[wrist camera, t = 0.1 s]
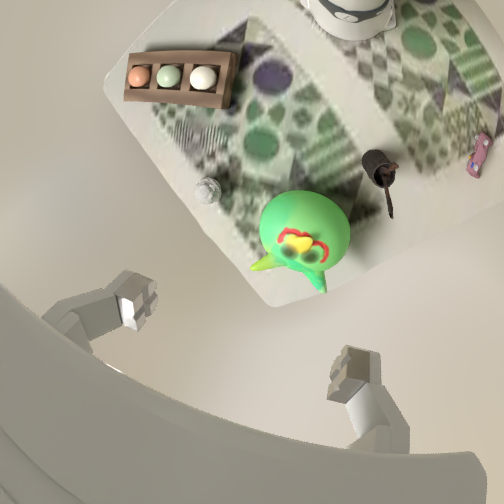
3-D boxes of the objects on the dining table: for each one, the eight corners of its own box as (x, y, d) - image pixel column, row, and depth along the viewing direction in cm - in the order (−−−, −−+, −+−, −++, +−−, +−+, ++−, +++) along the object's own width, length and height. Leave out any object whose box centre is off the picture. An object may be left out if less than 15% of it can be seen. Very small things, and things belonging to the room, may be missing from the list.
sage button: (165, 66, 45) (158, 65, 43) (184, 66, 45) (177, 65, 43) (161, 86, 48) (155, 86, 46) (180, 87, 47) (174, 87, 45)
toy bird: (360, 201, 53) (367, 231, 41) (331, 264, 63) (327, 305, 51) (279, 171, 55) (262, 192, 43) (259, 237, 65) (239, 272, 52)
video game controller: (476, 130, 38) (479, 126, 33) (493, 142, 36) (497, 139, 31) (461, 169, 43) (462, 169, 38) (477, 180, 41) (480, 181, 36)
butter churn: (385, 126, 44) (434, 147, 21) (406, 169, 47) (460, 226, 24) (346, 146, 48) (358, 183, 25) (368, 187, 51) (392, 257, 28)
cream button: (197, 67, 44) (191, 65, 42) (219, 68, 44) (214, 67, 42) (194, 88, 47) (188, 88, 45) (215, 90, 46) (210, 90, 44)
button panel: (141, 54, 48) (129, 53, 44) (238, 55, 44) (231, 52, 41) (135, 99, 54) (123, 101, 51) (228, 108, 51) (220, 109, 47)
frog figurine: (234, 187, 60) (222, 198, 54) (212, 203, 63) (199, 215, 58) (217, 166, 58) (204, 174, 53) (196, 183, 62) (182, 193, 56)
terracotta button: (136, 67, 47) (129, 66, 44) (153, 66, 46) (146, 65, 44) (134, 86, 49) (127, 86, 47) (150, 86, 49) (143, 86, 46)
